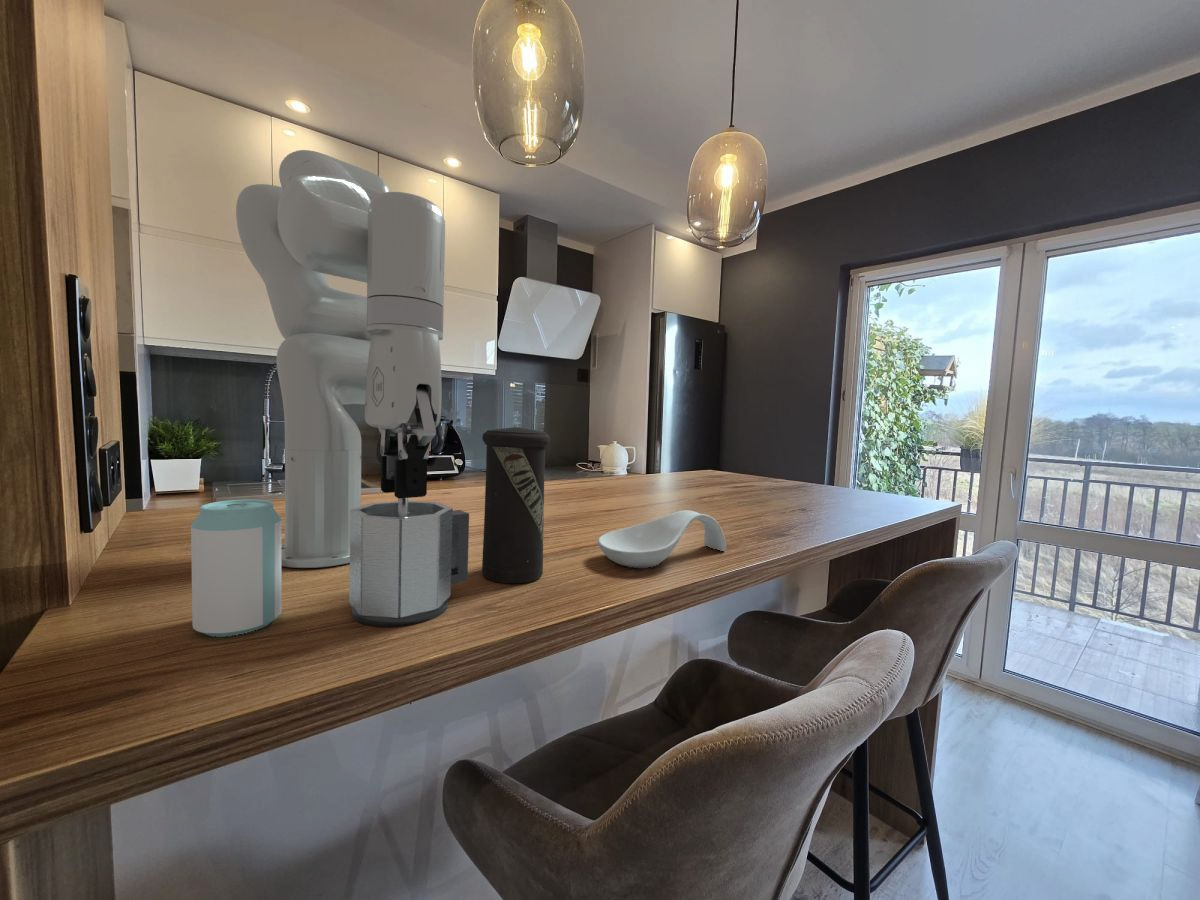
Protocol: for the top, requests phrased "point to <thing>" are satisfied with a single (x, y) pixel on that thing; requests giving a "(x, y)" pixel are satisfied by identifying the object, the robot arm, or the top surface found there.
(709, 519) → the spoon rest
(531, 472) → the container
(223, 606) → the can
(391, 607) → the octagonal grey mug
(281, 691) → the top surface
